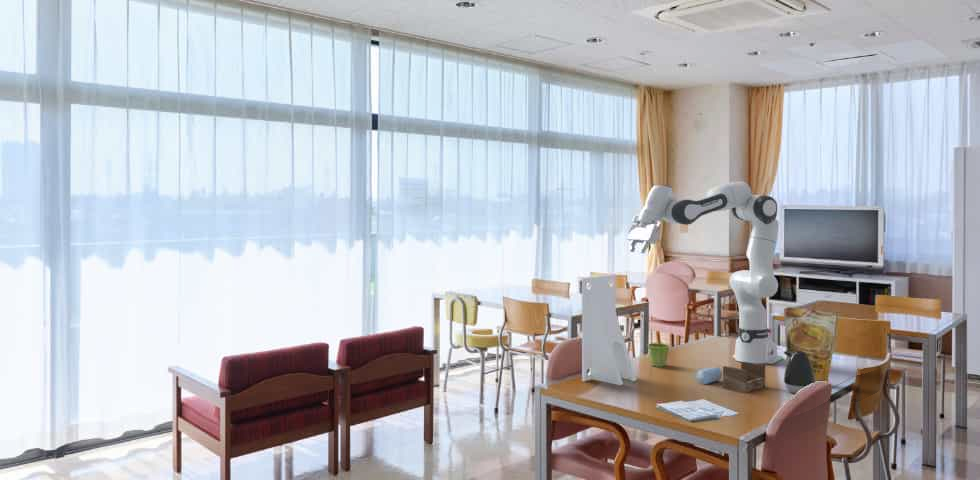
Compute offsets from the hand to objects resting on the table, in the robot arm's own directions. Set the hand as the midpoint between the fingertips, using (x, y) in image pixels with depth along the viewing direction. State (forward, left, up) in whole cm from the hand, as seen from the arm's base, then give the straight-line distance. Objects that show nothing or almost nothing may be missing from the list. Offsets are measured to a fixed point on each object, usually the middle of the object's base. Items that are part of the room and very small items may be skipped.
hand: (636, 252), depth 291 cm
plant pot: (-14, +1, -49) cm, 51 cm away
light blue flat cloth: (+33, +52, -49) cm, 79 cm away
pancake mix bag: (-31, +57, -49) cm, 81 cm away
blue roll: (-4, +32, -49) cm, 58 cm away
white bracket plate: (+20, +5, -49) cm, 53 cm away
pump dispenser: (-14, +62, -49) cm, 80 cm away
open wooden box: (-7, +45, -49) cm, 66 cm away
